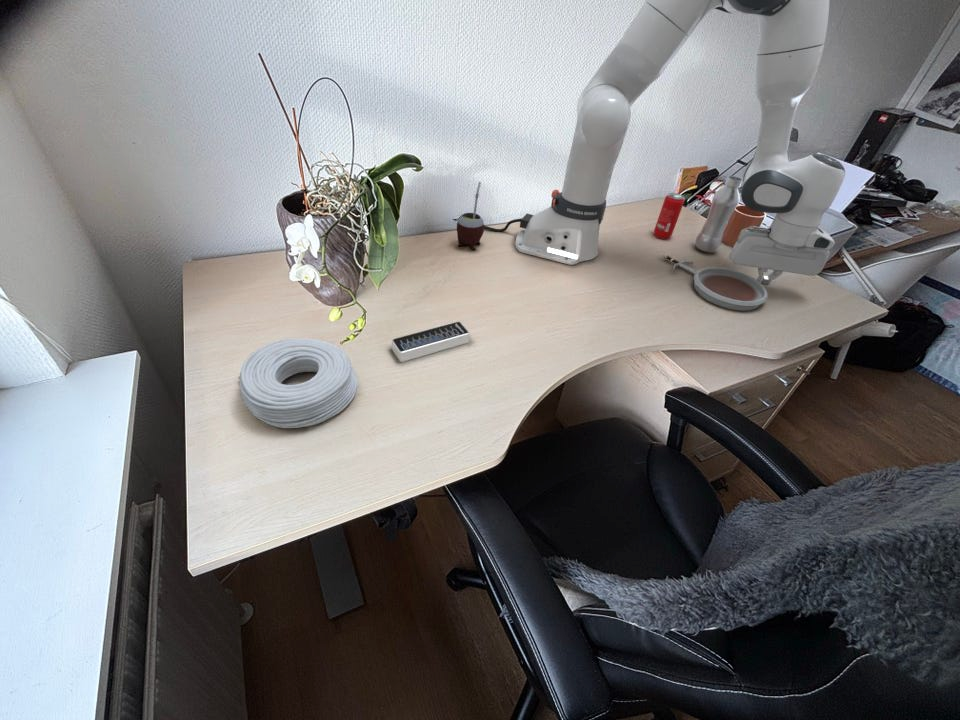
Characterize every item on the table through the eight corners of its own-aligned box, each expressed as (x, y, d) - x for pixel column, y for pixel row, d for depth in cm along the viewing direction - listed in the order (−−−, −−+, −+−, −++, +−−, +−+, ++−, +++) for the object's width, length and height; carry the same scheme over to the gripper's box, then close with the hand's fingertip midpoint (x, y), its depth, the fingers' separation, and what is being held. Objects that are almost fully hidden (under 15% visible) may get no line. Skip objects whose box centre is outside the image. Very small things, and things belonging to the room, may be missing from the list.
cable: (236, 376, 78) (226, 349, 74) (337, 347, 85) (333, 321, 81) (259, 448, 67) (248, 421, 63) (372, 408, 74) (369, 381, 70)
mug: (754, 242, 136) (769, 211, 130) (745, 251, 131) (761, 219, 125) (716, 229, 142) (729, 199, 136) (706, 237, 137) (719, 206, 130)
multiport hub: (391, 348, 86) (390, 339, 85) (459, 330, 92) (459, 320, 91) (400, 362, 83) (399, 352, 82) (469, 342, 90) (470, 332, 88)
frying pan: (684, 244, 126) (783, 290, 109) (680, 253, 128) (777, 300, 111) (644, 257, 118) (744, 309, 101) (641, 267, 120) (739, 320, 103)
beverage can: (649, 232, 136) (662, 192, 128) (663, 231, 137) (678, 192, 130) (659, 240, 132) (673, 199, 125) (674, 239, 134) (689, 199, 126)
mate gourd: (461, 253, 117) (465, 195, 108) (450, 239, 123) (452, 183, 113) (488, 249, 120) (493, 193, 110) (476, 236, 125) (480, 181, 116)
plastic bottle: (702, 255, 127) (733, 183, 114) (688, 244, 132) (716, 174, 119) (721, 254, 128) (754, 182, 115) (706, 243, 133) (736, 173, 120)
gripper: (747, 230, 103) (722, 283, 112) (842, 244, 101) (809, 297, 110) (740, 219, 108) (716, 271, 117) (831, 232, 106) (800, 284, 115)
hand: (762, 283), depth 114 cm, fingers closed
